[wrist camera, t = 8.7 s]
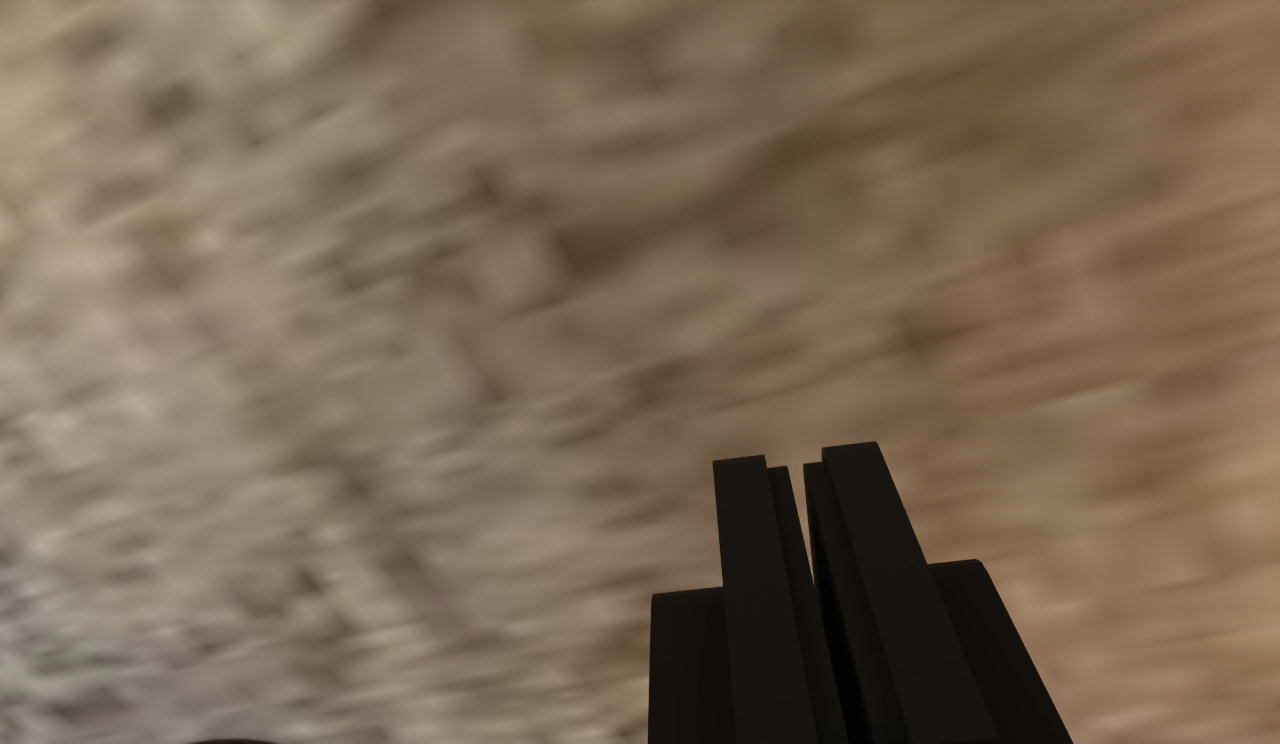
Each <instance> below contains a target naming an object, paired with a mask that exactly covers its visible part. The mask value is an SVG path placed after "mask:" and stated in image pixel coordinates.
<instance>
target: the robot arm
mask: <svg viewBox="0 0 1280 744" xmlns="http://www.w3.org/2000/svg"><path fill="white" fill-rule="evenodd" d="M713 472H714V484H715V495H716V507H717V519H718V531H719V542H720V554H721V566H722V578H723V587H714V588H705V589H696V590H686V591H677V592H668V593H659V594H653V596H652V603H651V631H650V672H649V713H648V744H1073V742H1072V740H1071V738H1070V736H1069V734H1068V732H1067V730H1066V728H1065V726H1064V724H1063V722H1062V720H1061V718H1060V716H1059V714H1058V712H1057V710H1056V708H1055V706H1054V704H1053V702H1052V700H1051V698H1050V696H1049V694H1048V692H1047V690H1046V688H1045V686H1044V684H1043V682H1042V680H1041V678H1040V676H1039V674H1038V672H1037V670H1036V668H1035V666H1034V664H1033V662H1032V660H1031V658H1030V656H1029V654H1028V652H1027V650H1026V648H1025V646H1024V644H1023V642H1022V640H1021V638H1020V636H1019V634H1018V632H1017V630H1016V628H1015V626H1014V624H1013V622H1012V620H1011V618H1010V616H1009V614H1008V612H1007V610H1006V608H1005V606H1004V604H1003V602H1002V600H1001V598H1000V596H999V594H998V592H997V590H996V588H995V586H994V584H993V582H992V580H991V578H990V576H989V574H988V572H987V570H986V569H985V567H984V566H983V564H982V562H980V561H979V560H977V559H971V560H961V561H952V562H943V563H934V564H927V562H926V560H925V557H924V555H923V552H922V550H921V547H920V545H919V543H918V540H917V538H916V535H915V533H914V530H913V528H912V526H911V523H910V521H909V518H908V516H907V513H906V511H905V509H904V506H903V504H902V501H901V499H900V496H899V494H898V492H897V489H896V487H895V484H894V482H893V479H892V477H891V475H890V472H889V470H888V467H887V465H886V462H885V460H884V458H883V455H882V453H881V450H880V448H879V446H878V444H877V442H875V441H873V442H865V443H856V444H848V445H840V446H831V447H823V448H822V462H815V463H806V464H803V473H804V484H805V494H806V504H807V515H808V525H809V535H810V546H811V556H812V566H813V577H814V583H813V579H812V574H811V570H810V565H809V561H808V556H807V552H806V548H805V543H804V539H803V534H802V530H801V525H800V521H799V516H798V512H797V507H796V503H795V499H794V494H793V490H792V485H791V481H790V476H789V472H788V468H787V466H781V467H773V468H767V465H766V460H765V455H757V456H748V457H740V458H732V459H724V460H715V461H713ZM814 587H815V588H814Z"/></svg>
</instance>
